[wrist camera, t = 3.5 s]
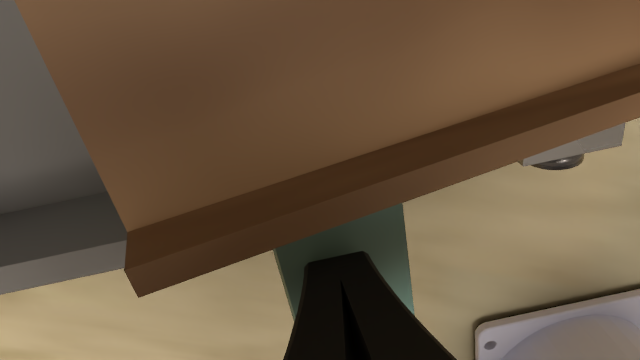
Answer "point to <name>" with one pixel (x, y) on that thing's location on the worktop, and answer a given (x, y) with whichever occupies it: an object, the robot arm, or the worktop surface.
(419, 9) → the tilt board
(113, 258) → the tray
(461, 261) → the worktop surface
